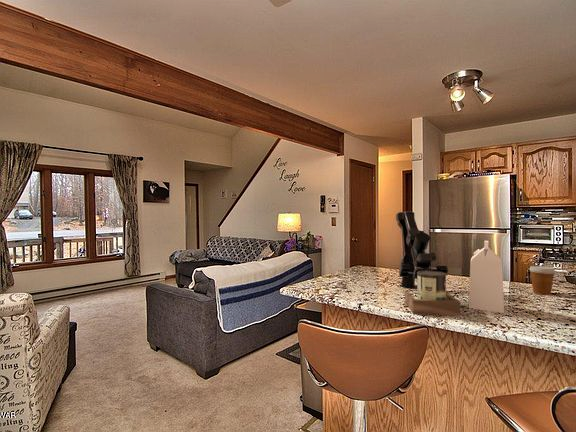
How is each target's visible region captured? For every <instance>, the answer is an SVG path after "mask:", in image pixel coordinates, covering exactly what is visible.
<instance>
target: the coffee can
mask: <svg viewBox="0 0 576 432" xmlns="http://www.w3.org/2000/svg"><path fill="white" fill-rule="evenodd" d="M417 279H418V280H417ZM417 279H416V280H417V285H418V286H417V299H419V300H446V292H447V287H446V286H447V284H446V283H447V281H446V280H447V274H446V273H443V272H439V271H418V272H417Z"/></svg>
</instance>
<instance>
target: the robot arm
mask: <svg viewBox="0 0 576 432" xmlns="http://www.w3.org/2000/svg"><path fill="white" fill-rule="evenodd" d="M395 220H396V222H397V226H398V227H399V228H400V231H401V239H402V241H401V242H402V249H403V250H402V251H403V252H402V253H403V256H402V258H401V260H400V263H399V268H398V276H399V277H401V284H399V285H398V286H400V287H404V288H407V289H414V288H418V284H416V280H417V281H418V279H417V272H418V271H439V272H443V273H446V275H447V274H448V272H449V268H448V266H447V265H446V264H436V265H435V267H431V266H432V262H435V261H437V254H436V252H428V253H427V251H426V250H427V249H428V247H429V244H430V240H431V237H430V235H429V234H427V233H426V232H424V230H420V229H419V227H418V225H417V223H416V218H415V212H414V211H401V212H400V211H399V212H397V213H396V214H395Z"/></svg>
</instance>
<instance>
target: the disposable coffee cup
mask: <svg viewBox="0 0 576 432" xmlns="http://www.w3.org/2000/svg"><path fill="white" fill-rule="evenodd" d="M528 270H529V271H530V278H531V285H532V286H531V287H532V291H533V293H534V294H537V295H542V296H550V295H551V294H552V288H553V284H554V283H553V282H554V276H555V273H557V272H556V270H555V267H551V266H545V265H530V267H529V269H528Z"/></svg>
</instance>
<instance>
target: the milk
mask: <svg viewBox="0 0 576 432" xmlns="http://www.w3.org/2000/svg"><path fill="white" fill-rule="evenodd" d="M483 245H484V246H483V248H481V249H479V248H477V250H475V251H474V252H473V255H472V257H471V258H470V267H469V270H470V271H469V292H468V309H471V308H473V310H478V309H479V311H486V312H491V313H492V312H494V313H501V314H505V307H504V306H505V302H504V301H505V300H504V299H505V298H504V277H503V275H504V274H503V260H502V258H501V257H500V256H499V255H498V254H496V253H495V252H494V251H493V250H492V249H491V248H490V247H489V240H484V244H483Z"/></svg>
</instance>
